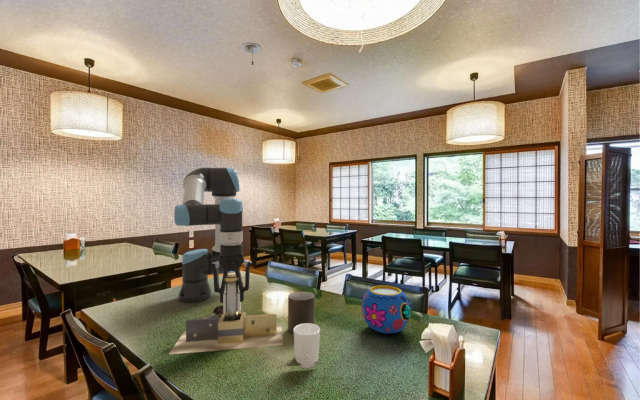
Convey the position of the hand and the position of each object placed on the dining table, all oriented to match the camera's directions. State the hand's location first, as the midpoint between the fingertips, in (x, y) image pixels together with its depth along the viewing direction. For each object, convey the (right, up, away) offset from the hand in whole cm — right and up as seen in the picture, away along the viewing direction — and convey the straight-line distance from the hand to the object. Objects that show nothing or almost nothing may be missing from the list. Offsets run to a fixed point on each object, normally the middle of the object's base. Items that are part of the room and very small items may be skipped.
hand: (232, 311), depth 100 cm
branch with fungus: (-11, -11, +15) cm, 22 cm away
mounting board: (0, -10, 0) cm, 10 cm away
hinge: (0, -9, 0) cm, 9 cm away
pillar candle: (+24, -10, +6) cm, 26 cm away
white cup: (+26, -10, -13) cm, 31 cm away
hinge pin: (0, -6, 0) cm, 6 cm away
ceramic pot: (+55, -10, +7) cm, 56 cm away
